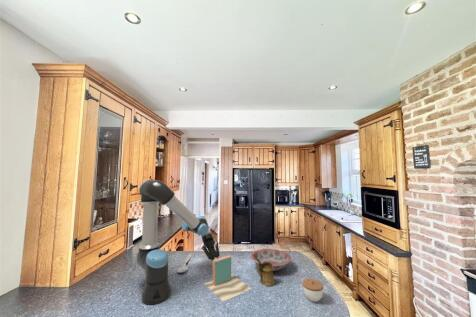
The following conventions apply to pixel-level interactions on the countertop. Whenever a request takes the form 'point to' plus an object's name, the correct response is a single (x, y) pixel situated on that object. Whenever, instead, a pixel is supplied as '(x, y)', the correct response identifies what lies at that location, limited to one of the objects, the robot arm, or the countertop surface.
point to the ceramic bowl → (272, 258)
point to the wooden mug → (265, 273)
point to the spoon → (184, 265)
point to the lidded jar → (312, 289)
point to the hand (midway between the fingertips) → (218, 268)
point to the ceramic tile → (221, 270)
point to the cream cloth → (228, 288)
